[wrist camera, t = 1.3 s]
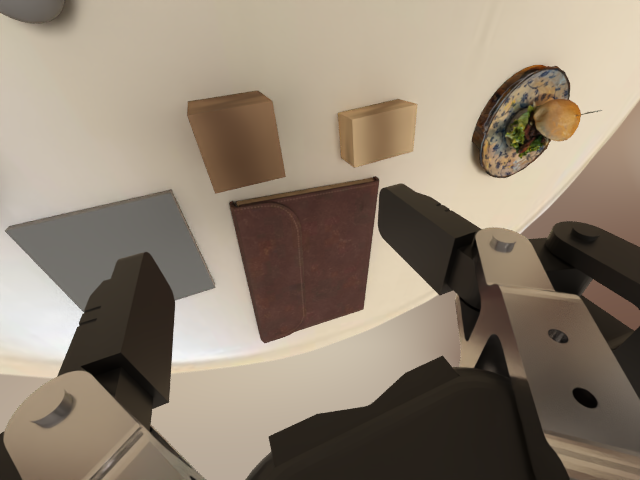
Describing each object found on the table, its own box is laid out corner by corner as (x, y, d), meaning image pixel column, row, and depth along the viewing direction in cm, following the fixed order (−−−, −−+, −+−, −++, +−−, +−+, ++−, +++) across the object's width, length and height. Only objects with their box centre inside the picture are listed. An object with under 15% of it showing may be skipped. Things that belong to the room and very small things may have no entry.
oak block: (396, 98, 25) (417, 104, 23) (394, 142, 28) (413, 151, 25) (336, 112, 24) (352, 119, 21) (340, 156, 26) (354, 167, 24)
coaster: (171, 189, 22) (170, 192, 22) (214, 283, 29) (215, 287, 28) (9, 226, 20) (4, 230, 19) (98, 320, 26) (96, 325, 26)
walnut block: (257, 90, 21) (272, 101, 17) (270, 155, 24) (285, 176, 20) (188, 101, 19) (187, 115, 16) (211, 168, 22) (215, 193, 19)
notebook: (373, 174, 29) (383, 181, 28) (360, 301, 41) (366, 310, 39) (228, 199, 25) (230, 209, 23) (259, 332, 36) (262, 345, 35)
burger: (451, 152, 31) (510, 176, 25) (528, 39, 27) (619, 37, 21) (501, 185, 37) (557, 211, 32) (569, 98, 33) (648, 109, 27)
